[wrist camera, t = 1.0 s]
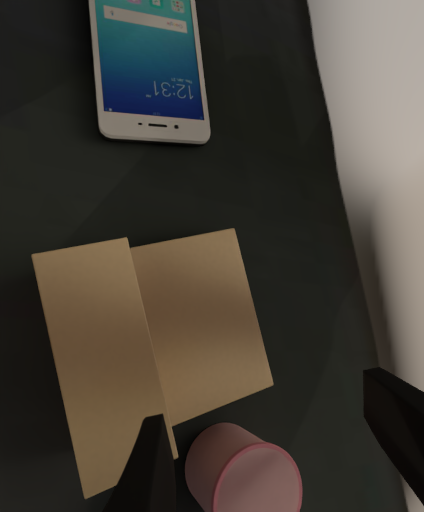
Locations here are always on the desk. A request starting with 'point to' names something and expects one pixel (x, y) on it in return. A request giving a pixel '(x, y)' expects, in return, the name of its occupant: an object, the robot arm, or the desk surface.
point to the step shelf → (147, 340)
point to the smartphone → (148, 72)
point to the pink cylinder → (241, 472)
